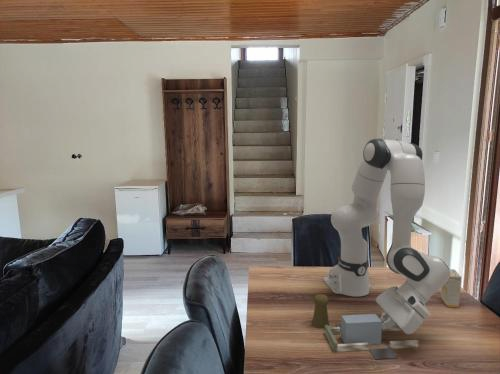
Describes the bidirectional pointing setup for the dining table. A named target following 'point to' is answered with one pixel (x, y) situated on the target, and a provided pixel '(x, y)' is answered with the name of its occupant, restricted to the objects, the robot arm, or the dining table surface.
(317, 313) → the cork
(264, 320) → the dining table surface
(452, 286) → the supplement box
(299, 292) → the dining table surface
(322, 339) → the dining table surface
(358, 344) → the lane
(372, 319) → the grey brick
